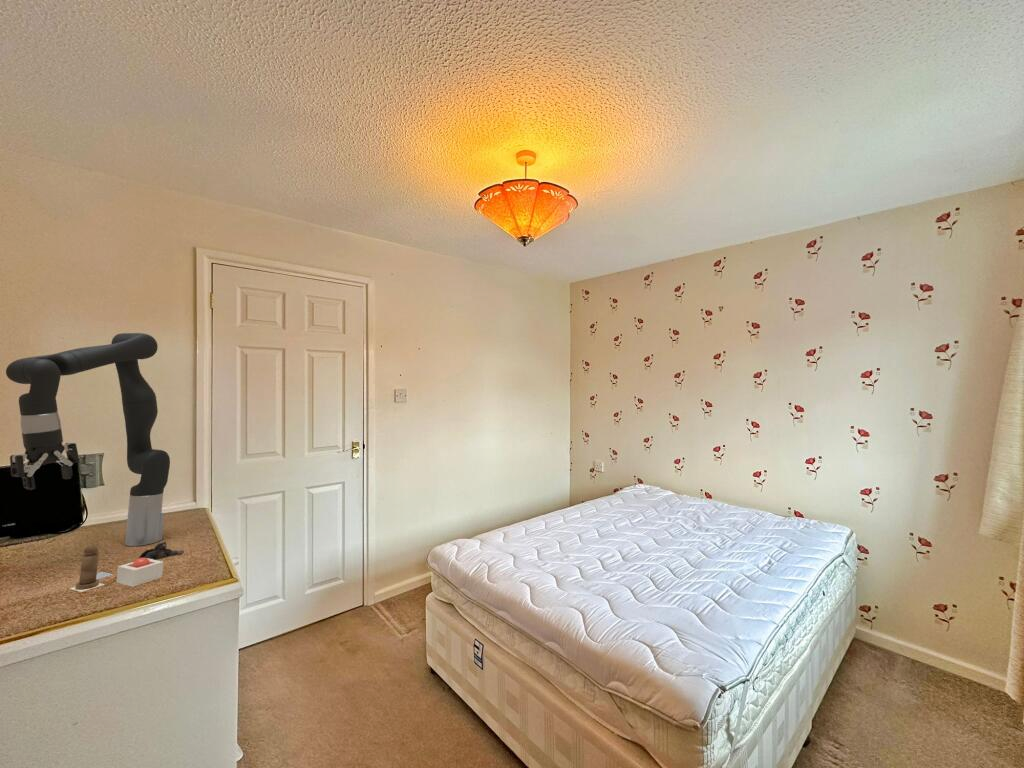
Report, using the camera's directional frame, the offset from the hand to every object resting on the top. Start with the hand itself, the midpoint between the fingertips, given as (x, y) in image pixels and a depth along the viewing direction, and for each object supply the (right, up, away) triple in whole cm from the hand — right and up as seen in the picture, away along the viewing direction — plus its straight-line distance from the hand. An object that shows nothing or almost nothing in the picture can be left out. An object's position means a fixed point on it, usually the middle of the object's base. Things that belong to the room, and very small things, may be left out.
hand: (49, 483), depth 121 cm
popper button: (+30, -25, -4) cm, 39 cm away
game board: (+23, -27, -6) cm, 35 cm away
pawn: (+20, -25, -9) cm, 34 cm away
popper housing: (+30, -27, -4) cm, 40 cm away
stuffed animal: (+21, -29, +13) cm, 38 cm away
